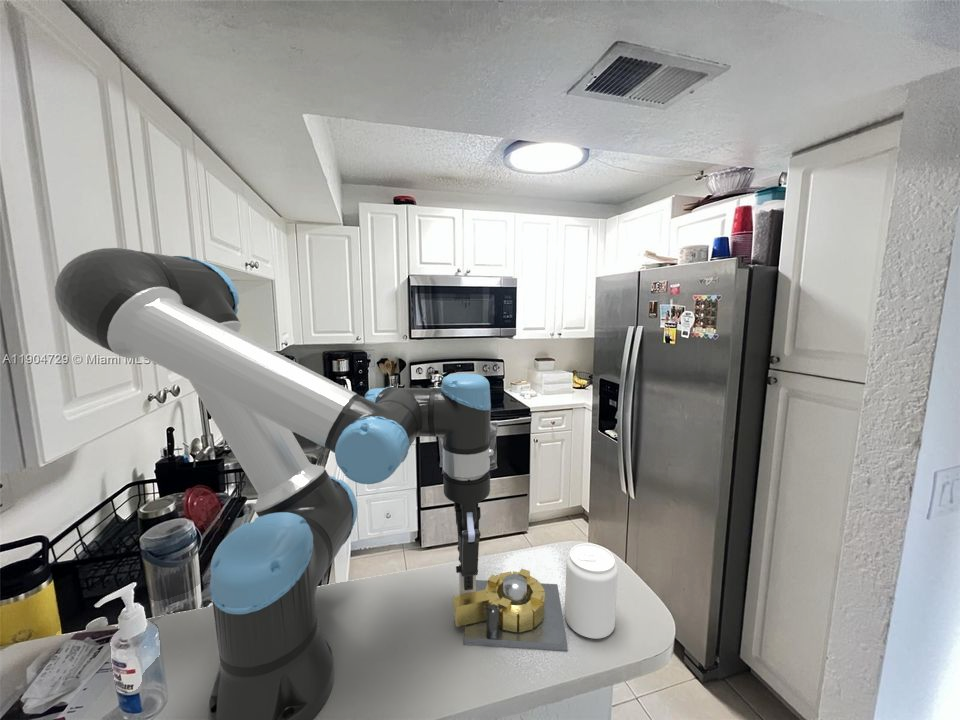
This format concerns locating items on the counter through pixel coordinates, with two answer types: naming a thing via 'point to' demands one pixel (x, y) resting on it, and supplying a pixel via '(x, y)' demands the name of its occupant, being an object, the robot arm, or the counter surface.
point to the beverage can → (591, 590)
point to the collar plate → (541, 637)
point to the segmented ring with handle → (502, 604)
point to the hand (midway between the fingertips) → (467, 600)
